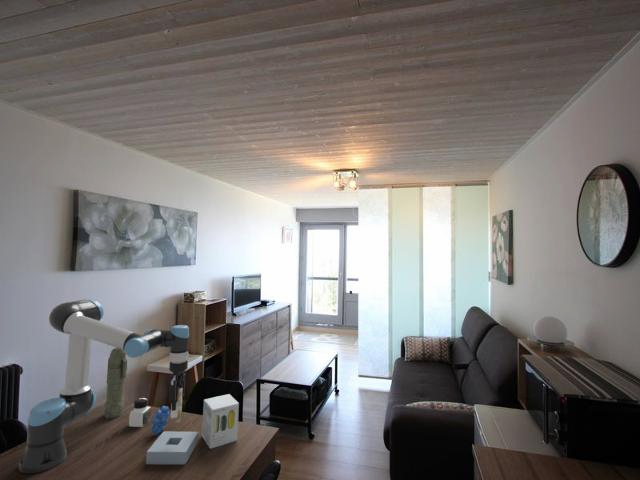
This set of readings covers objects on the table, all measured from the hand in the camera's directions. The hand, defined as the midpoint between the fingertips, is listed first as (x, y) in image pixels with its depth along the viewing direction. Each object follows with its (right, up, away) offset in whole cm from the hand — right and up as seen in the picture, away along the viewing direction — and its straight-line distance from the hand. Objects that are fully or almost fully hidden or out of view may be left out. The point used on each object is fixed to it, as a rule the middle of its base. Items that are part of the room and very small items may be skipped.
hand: (176, 414), depth 144 cm
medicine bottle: (-29, -17, +23) cm, 41 cm away
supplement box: (+16, -18, +12) cm, 27 cm away
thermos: (-47, -17, +31) cm, 59 cm away
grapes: (-16, -17, +15) cm, 28 cm away
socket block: (-1, -16, -1) cm, 17 cm away
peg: (0, -3, 0) cm, 3 cm away
